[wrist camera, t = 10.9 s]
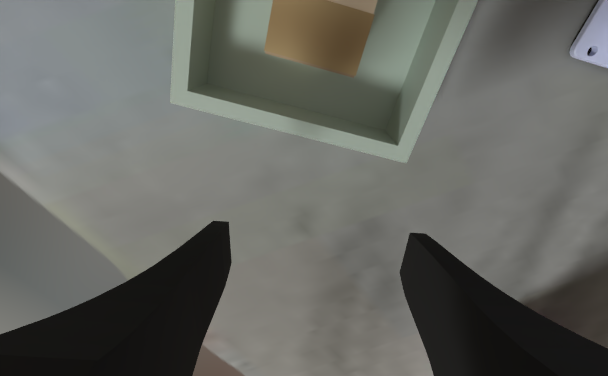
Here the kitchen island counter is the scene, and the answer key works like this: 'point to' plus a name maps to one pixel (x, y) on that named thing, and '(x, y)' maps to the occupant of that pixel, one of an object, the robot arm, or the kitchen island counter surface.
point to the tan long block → (321, 32)
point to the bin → (318, 73)
